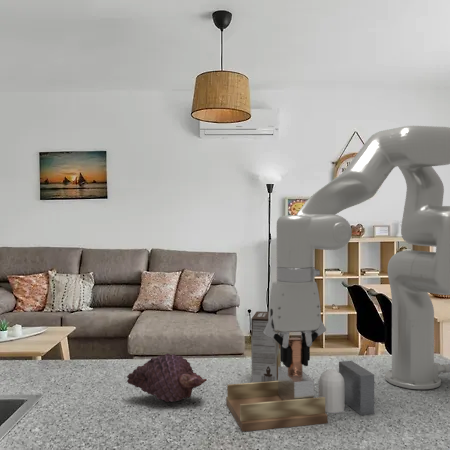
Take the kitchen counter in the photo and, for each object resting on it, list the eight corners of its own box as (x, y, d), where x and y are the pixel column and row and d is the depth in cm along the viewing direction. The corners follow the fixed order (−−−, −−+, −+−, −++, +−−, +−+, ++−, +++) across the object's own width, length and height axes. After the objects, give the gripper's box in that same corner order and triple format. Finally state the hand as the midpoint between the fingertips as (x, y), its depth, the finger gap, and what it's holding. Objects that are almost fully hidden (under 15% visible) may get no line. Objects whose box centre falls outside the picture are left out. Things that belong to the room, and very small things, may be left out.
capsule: (317, 402, 107) (318, 365, 106) (343, 403, 106) (343, 366, 106) (319, 412, 101) (319, 373, 101) (345, 413, 101) (346, 374, 100)
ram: (295, 393, 107) (295, 333, 107) (313, 410, 97) (313, 344, 97) (278, 394, 106) (278, 334, 106) (294, 412, 97) (294, 346, 96)
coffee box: (256, 373, 127) (256, 310, 126) (281, 374, 125) (281, 311, 125) (250, 385, 118) (250, 317, 117) (277, 387, 116) (277, 318, 116)
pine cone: (121, 407, 104) (120, 360, 104) (134, 391, 114) (134, 347, 114) (204, 410, 103) (204, 362, 102) (210, 393, 112) (210, 349, 112)
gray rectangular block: (351, 396, 110) (351, 360, 110) (374, 414, 100) (374, 374, 100) (338, 397, 109) (338, 361, 109) (360, 415, 100) (360, 375, 99)
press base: (301, 397, 110) (301, 377, 110) (327, 423, 96) (327, 400, 96) (226, 403, 106) (226, 382, 106) (242, 431, 92) (242, 407, 92)
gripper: (324, 272, 107) (324, 357, 107) (251, 274, 103) (251, 362, 104) (340, 276, 100) (340, 367, 100) (261, 279, 96) (262, 373, 96)
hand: (295, 364), depth 102 cm, fingers closed on ram, 3 cm apart
